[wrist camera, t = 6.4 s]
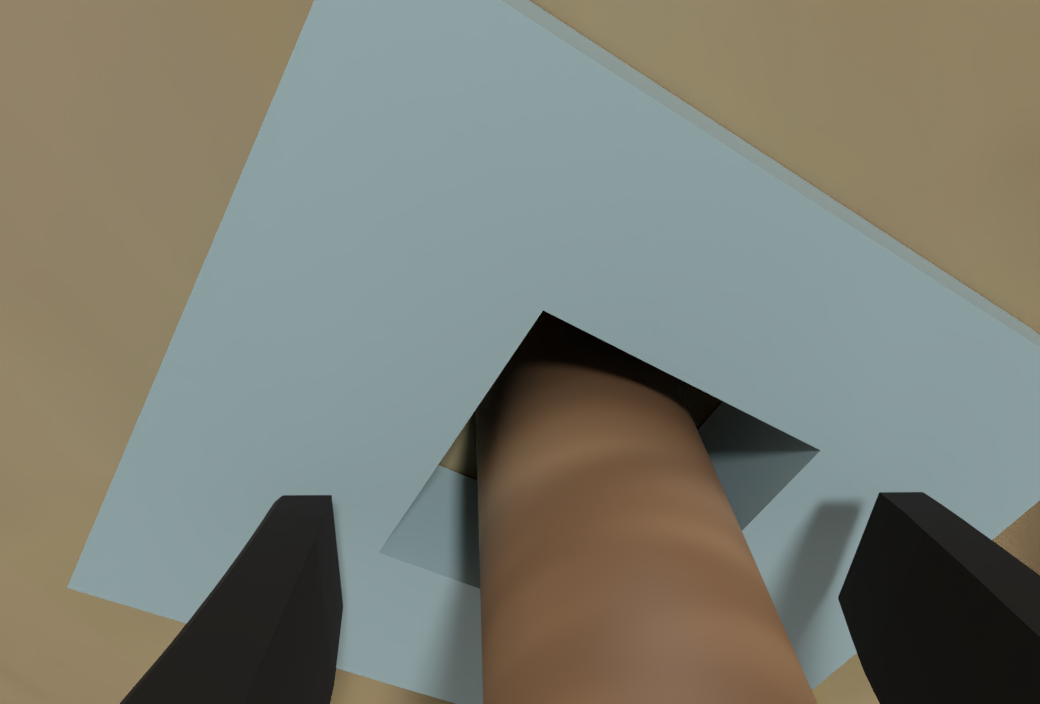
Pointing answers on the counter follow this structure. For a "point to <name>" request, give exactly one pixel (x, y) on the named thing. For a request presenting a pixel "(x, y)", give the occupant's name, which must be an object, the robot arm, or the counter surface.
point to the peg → (613, 542)
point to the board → (510, 315)
